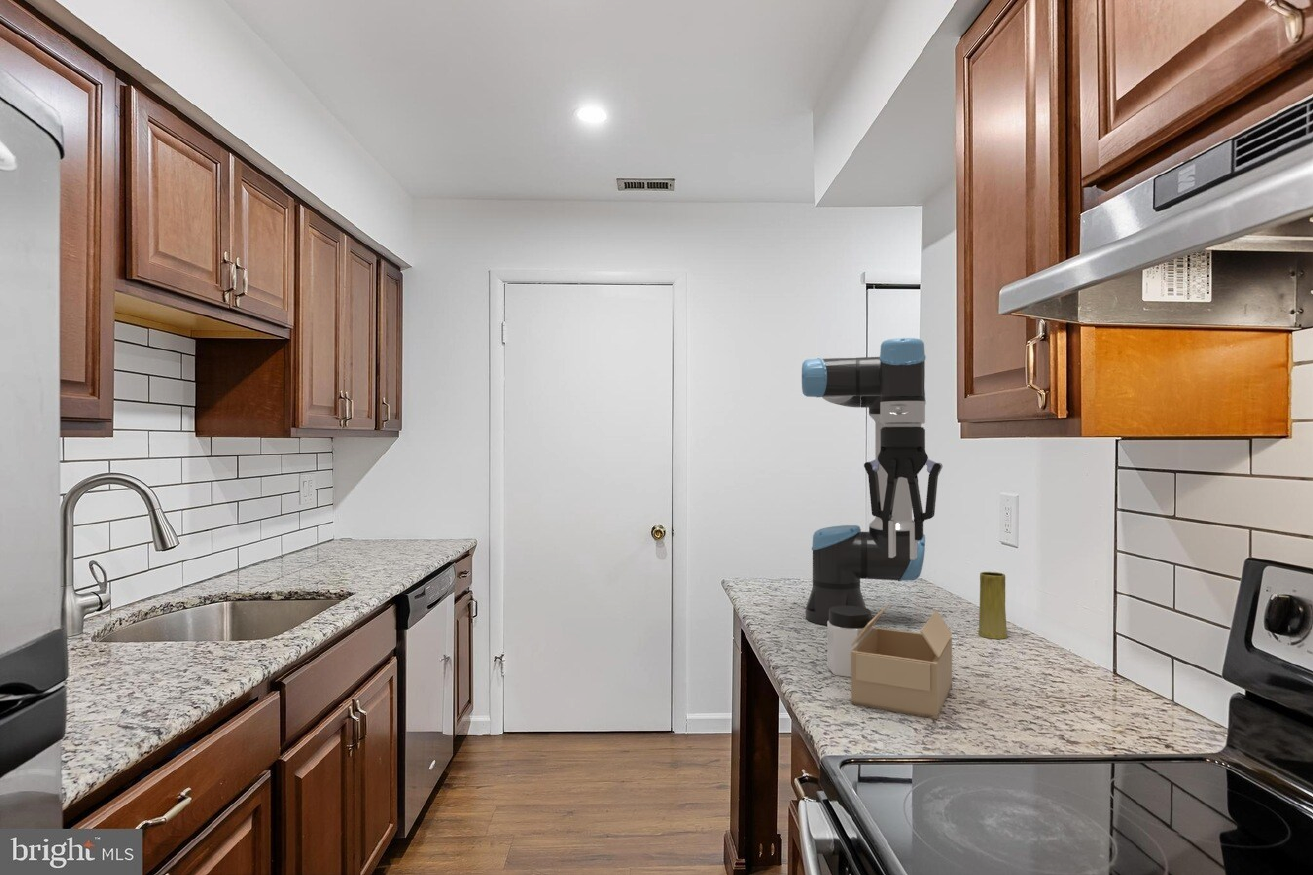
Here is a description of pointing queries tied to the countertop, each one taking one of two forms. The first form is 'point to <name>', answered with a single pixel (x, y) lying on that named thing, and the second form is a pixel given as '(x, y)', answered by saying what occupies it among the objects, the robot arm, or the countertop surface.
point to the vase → (992, 606)
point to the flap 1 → (869, 625)
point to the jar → (844, 636)
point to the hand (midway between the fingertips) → (902, 557)
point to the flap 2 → (936, 633)
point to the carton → (900, 673)
